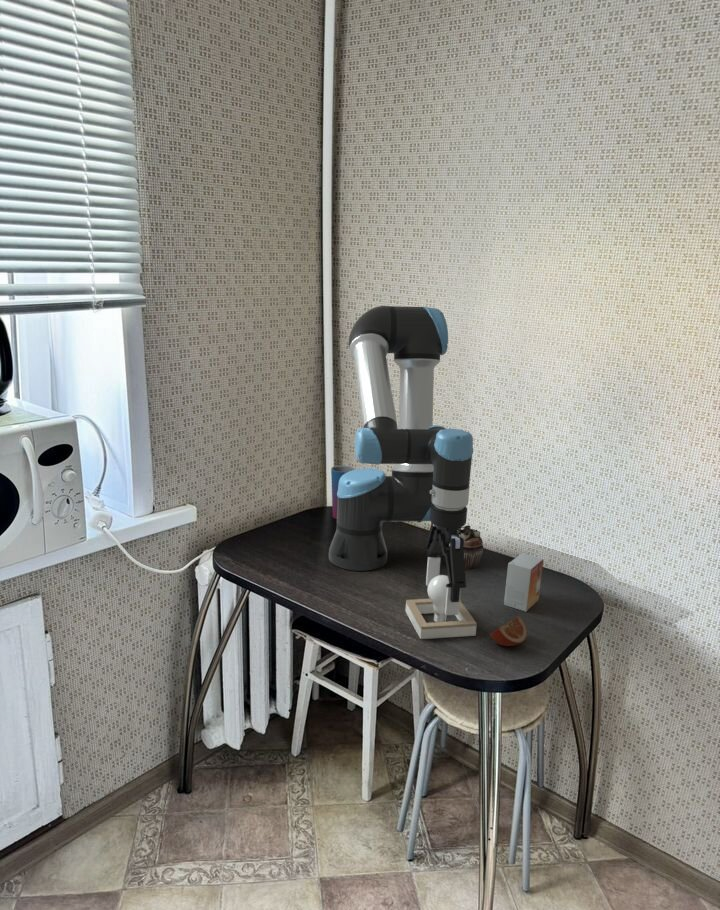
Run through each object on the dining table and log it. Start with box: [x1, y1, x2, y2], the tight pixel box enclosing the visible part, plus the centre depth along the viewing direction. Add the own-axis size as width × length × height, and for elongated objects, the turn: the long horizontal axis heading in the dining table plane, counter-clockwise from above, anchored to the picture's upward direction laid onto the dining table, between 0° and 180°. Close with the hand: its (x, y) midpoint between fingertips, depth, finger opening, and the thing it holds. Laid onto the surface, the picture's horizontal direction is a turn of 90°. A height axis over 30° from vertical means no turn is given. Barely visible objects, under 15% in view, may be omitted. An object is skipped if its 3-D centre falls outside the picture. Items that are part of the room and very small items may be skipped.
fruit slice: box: [489, 615, 528, 647], centre depth 146 cm, size 8×7×5 cm
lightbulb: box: [426, 574, 449, 622], centre depth 152 cm, size 6×6×11 cm
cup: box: [330, 465, 355, 520], centre depth 212 cm, size 7×7×15 cm
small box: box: [503, 552, 545, 613], centre depth 163 cm, size 8×6×10 cm
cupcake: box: [457, 524, 484, 570], centre depth 184 cm, size 10×10×10 cm
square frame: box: [405, 598, 478, 640], centre depth 153 cm, size 12×12×3 cm
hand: (441, 599), depth 152 cm, fingers open, 13 cm apart
